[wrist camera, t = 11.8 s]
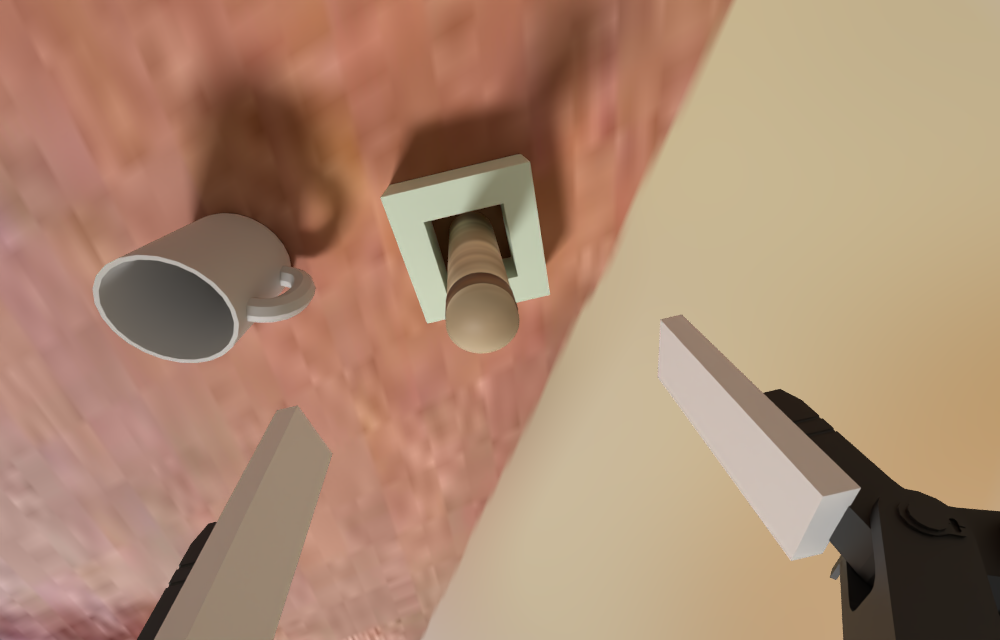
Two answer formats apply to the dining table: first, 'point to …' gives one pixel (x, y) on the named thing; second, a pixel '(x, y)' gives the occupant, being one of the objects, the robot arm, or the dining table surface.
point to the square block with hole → (459, 194)
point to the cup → (200, 288)
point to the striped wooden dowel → (478, 288)
